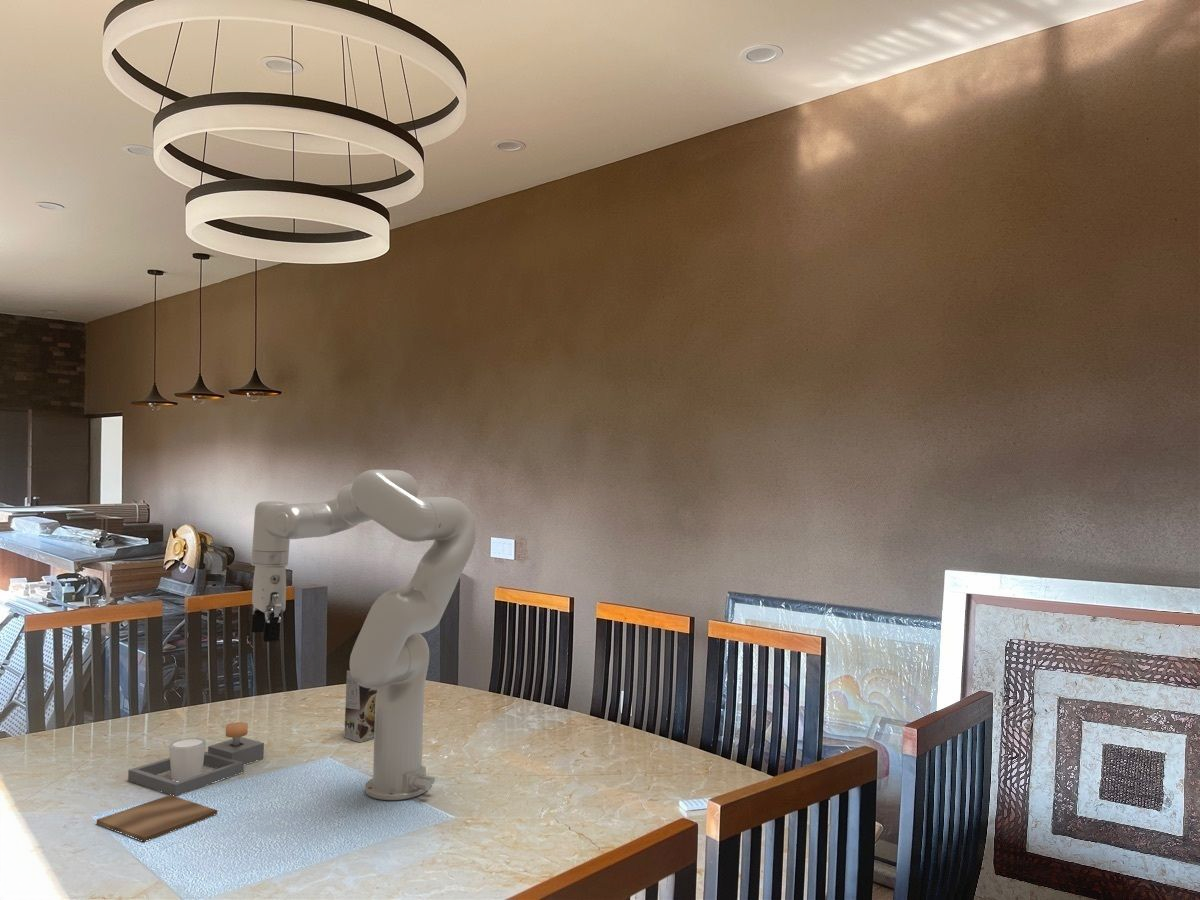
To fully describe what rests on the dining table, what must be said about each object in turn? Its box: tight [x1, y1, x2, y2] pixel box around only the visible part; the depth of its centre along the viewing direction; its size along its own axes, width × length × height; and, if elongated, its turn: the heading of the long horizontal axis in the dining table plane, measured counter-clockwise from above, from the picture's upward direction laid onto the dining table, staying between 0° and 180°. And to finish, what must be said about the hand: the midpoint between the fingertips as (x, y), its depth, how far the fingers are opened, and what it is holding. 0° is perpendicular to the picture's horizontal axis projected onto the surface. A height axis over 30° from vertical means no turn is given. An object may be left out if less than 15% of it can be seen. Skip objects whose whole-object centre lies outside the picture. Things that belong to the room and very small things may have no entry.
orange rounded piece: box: [225, 721, 249, 747], centre depth 186 cm, size 4×4×4 cm
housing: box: [127, 736, 265, 797], centre depth 179 cm, size 15×23×4 cm, turn 150°
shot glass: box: [168, 737, 207, 781], centre depth 175 cm, size 7×7×7 cm
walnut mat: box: [96, 794, 218, 842], centre depth 154 cm, size 14×14×1 cm
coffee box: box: [343, 669, 378, 743], centre depth 205 cm, size 9×6×16 cm
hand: (264, 636), depth 186 cm, fingers open, 9 cm apart
